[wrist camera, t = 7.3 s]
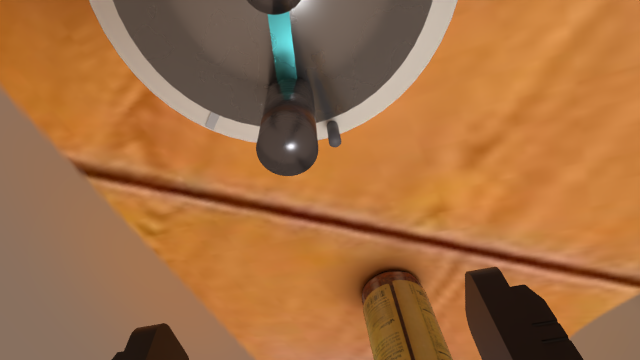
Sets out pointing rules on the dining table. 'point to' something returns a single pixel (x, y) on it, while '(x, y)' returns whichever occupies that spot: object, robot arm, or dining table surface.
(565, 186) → the dining table surface
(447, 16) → the stand
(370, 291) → the sauce bottle
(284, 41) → the capstan
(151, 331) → the robot arm
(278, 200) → the dining table surface
